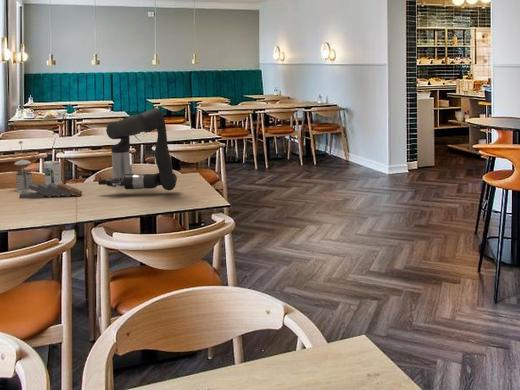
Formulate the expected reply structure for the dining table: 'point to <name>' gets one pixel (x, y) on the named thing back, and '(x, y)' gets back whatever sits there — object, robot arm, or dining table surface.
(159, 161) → the robot arm
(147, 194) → the dining table surface
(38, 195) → the charcoal tile
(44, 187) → the charcoal tile
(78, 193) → the walnut tile
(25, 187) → the french press
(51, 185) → the charcoal tile
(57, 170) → the syrup box
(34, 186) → the charcoal tile
